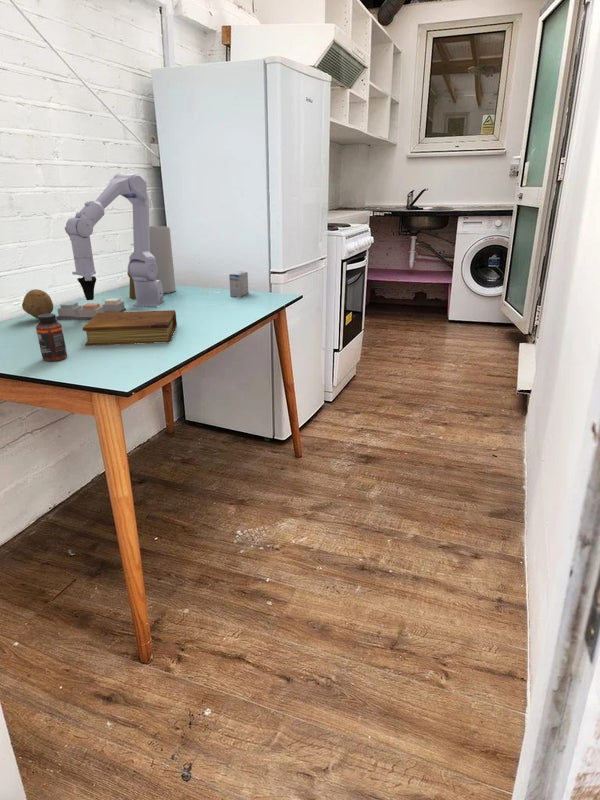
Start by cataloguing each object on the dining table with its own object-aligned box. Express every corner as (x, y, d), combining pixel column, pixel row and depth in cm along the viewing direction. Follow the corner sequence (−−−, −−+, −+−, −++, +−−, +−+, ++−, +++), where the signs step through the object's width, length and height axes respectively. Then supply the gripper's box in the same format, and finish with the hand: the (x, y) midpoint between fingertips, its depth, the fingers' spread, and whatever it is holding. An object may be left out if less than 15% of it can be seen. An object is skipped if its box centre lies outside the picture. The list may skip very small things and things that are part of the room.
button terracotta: (100, 310, 180) (99, 303, 179) (95, 313, 176) (94, 305, 175) (88, 310, 180) (87, 303, 179) (83, 313, 176) (82, 305, 175)
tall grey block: (172, 294, 214) (165, 228, 204) (140, 294, 214) (132, 229, 204) (178, 288, 225) (172, 226, 216) (148, 289, 225) (141, 226, 216)
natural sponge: (19, 323, 172) (13, 292, 168) (33, 316, 180) (27, 286, 177) (47, 323, 172) (41, 292, 168) (60, 316, 180) (54, 286, 176)
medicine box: (238, 293, 215) (237, 271, 212) (248, 293, 214) (247, 271, 211) (230, 296, 208) (228, 274, 205) (240, 297, 207) (239, 274, 204)
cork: (143, 299, 206) (139, 269, 202) (127, 299, 206) (123, 270, 202) (147, 295, 212) (144, 267, 207) (132, 296, 212) (128, 267, 207)
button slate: (78, 309, 181) (77, 302, 180) (73, 312, 177) (71, 305, 177) (67, 309, 181) (66, 302, 181) (61, 312, 178) (60, 305, 177)
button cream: (121, 305, 187) (120, 298, 186) (116, 307, 183) (115, 300, 182) (110, 305, 187) (109, 298, 186) (105, 307, 183) (104, 300, 182)
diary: (177, 327, 167) (175, 309, 165) (170, 344, 150) (168, 324, 148) (101, 330, 165) (98, 311, 163) (85, 347, 148) (82, 326, 146)
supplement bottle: (71, 355, 140) (64, 312, 136) (61, 362, 134) (53, 317, 130) (49, 355, 140) (40, 312, 136) (38, 362, 135) (28, 317, 130)
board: (126, 310, 188) (124, 301, 187) (109, 319, 175) (108, 310, 174) (76, 309, 190) (75, 300, 188) (56, 319, 177) (55, 309, 176)
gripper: (68, 255, 176) (75, 297, 181) (71, 260, 164) (78, 305, 169) (91, 254, 179) (97, 295, 184) (95, 259, 166) (102, 303, 171)
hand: (89, 299), depth 176 cm, fingers closed
